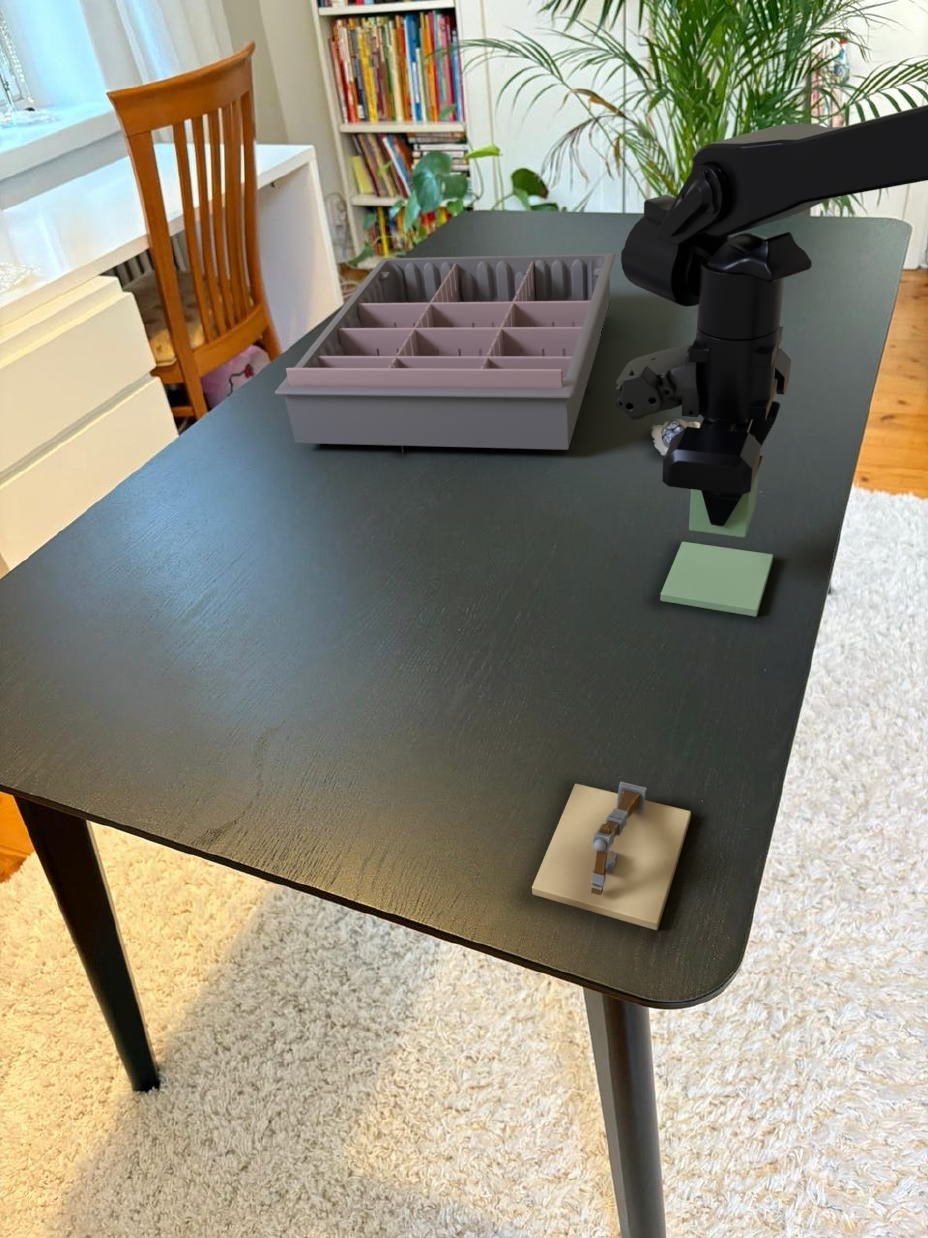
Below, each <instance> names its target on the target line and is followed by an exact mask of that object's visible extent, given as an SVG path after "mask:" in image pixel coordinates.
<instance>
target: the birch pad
mask: <svg viewBox="0 0 928 1238" xmlns="http://www.w3.org/2000/svg"><path fill="white" fill-rule="evenodd" d="M617 798H618V792H612V791H610V790H605V789H600V788H598V787H597V788H596V787H592V786H588V785H584V784H580V783H574V784H573V788H572V790H571V792H570V795H569V797H568V800H567V802H566V803H565V806H564V809H563V811H562V814H561V817H560V819H559V822H558V823H557V826H556V829H555V831H554V833H553V835H552V838H551V840H550V843H549V845H548V847H547V850H546V852H545V854H544V856H543V860H542V862H541V865H540V867H539V869H538V872H537V874H536V877H535V878H534V882H533V883H532V886H531V891H532V895H533V896H536V897H540V898H544V899H547V900H551V901H553V902H557V903H560V904H563V905H567V906H571V907H575V908H578V909H581V910H585V911H587V912H588V911H589V912H591V913H595V914H598V915H602V916H606V917H609V918H612V919H616V920H619V921H622V922H626V923H629V924H633V925H636V926H640V927H644V928H647V929H651V930H653V931H658V930H659V927H660V923H661V920H662V917H663V913H664V910H665V906H666V903H667V901H668V897H669V893H670V890H671V886H672V883H673V880H674V876H675V873H676V870H677V866H678V863H679V859H680V856H681V852H682V849H683V846H684V842H685V839H686V836H687V831H688V830H689V829H688V828H689V825H690V822H691V816H692V812H691V811H690V810H687V809H683V808H679V807H676V806H675V807H674V806H671V805H666V804H662V803H657V802H655V801H650V800H647V799H645V804H644V811H643V812H642V813H641V814H639V813H635V812H634V813H633V814H632V815H631V816H630V817H629V818H628V819H627V825H626V826H625V827H624V828H623V830H622V833H621V835H619V836H617V835H616V836H615V838H614V843H613V844H612V845H611V846H610V848H609V851H614V852H616V853H618V858H617V866H614V871H613V875H610V874H607V875H606V880H605V882H604V886H603V892H602V894H601V895H596V894H593V893H591V889H592V887H591V886H592V883H591V879H592V872H593V871H594V868H595V860H596V853H597V850H596V849H593V848H592V846H593V838H594V834H595V833H596V832H597V831H598V829H599V828H600V826H601V825H602V824H605V823H606V818H607V816H608V815H609V814H611V812H612V811H613V808H615V809H616V806H617Z"/></svg>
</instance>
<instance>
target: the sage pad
mask: <svg viewBox="0 0 928 1238" xmlns="http://www.w3.org/2000/svg"><path fill="white" fill-rule="evenodd" d="M773 560H774V554H773V553H766V552H759V551H751V550H745V549H737V548H731V547H723V546H718V545H717V546H716V545H709V544H702V543H696V542H688V541H682V542H681V544H680V545H679V548H678V550H677V553H676V555H675V558H674V561H673V563H672V565H671V568H670V570H669V572H668V574H667V578H666V580H665V582H664V584H663V587H662V589H661V591H660V597H659V598H660V601H661V602H665V603H672V604H677V605H683V606H690V607H695V608H702V609H706V610H707V609H708V610H713V611H719V612H724V613H731V614H737V615H743V616H750V617H758V614H759V610H760V606H761V603H762V600H763V596H764V593H765V590H766V586H767V583H768V579H769V576H770V572H771V569H772V565H773V562H774V561H773Z"/></svg>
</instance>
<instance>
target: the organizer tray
mask: <svg viewBox="0 0 928 1238" xmlns="http://www.w3.org/2000/svg"><path fill="white" fill-rule="evenodd" d="M615 259H616V254H615V253H614V252H611V253H610V252H609V253H606V252H605V253H567V254H566V253H565V254H564V253H563V254H560V253H559V254H522V255H521V254H520V255H476V256H475V255H474V256H435V257H434V256H433V257H430V256H429V257H428V256H427V257H391V258H390V257H389V258H388V257H387V258H381V259H380V260H379V262H378V263H377V264H376V265H375V266H374V267H373V269H372V270H371V271H370V273H368V275H367V277H365V279H363V281H362V283H360V285H359V286H358V287H357V289H356V290H355V292H353V294H352V295H351V296H350V297H349V299H348V300H347V301H346V302H345V303H344V304H343V306H342V307H341V309H340V310H339V311H338V312H337V313H336V315H335V316H334V317H333V319H332V320H330V322H329V324H327V326H326V327H325V329H323V331H322V332H321V334H320V335H319V336H318V337H317V339H316V340H315V341H314V342H313V344H312V345H311V346H310V348H308V350H307V351H306V352H305V354H304V355H303V356H302V357H301V359H300V360H299V361H298V362H297V364H296V365H295V366H294V367H286V368H285V370H286V377H285V379H284V380H283V381H282V382H281V383H280V385H279V386H278V388H277V389H275V391H274V394H275V395H283V398H284V401H285V405H286V409H287V410H286V411H287V414H288V418H289V422H290V423H289V424H290V427H291V431H292V434H293V439H294V443H295V444H323V445H324V444H326V445H327V444H328V445H362V446H363V445H365V446H366V445H367V446H370V445H371V446H401V451H402V452H404V448H403V447H404V446H405V447H406V446H407V447H408V446H411V447H442V448H443V447H444V448H446V447H447V448H451V447H452V448H485V449H487V448H490V449H525V450H526V449H527V450H528V449H529V450H564V451H565V450H567V451H569V448H570V445H571V441H572V438H573V435H574V432H575V429H576V424H577V420H578V418H579V414H580V410H581V407H582V402H583V399H584V397H585V392H586V389H587V385H588V383H589V379H590V375H591V372H592V368H593V365H594V362H595V358H596V356H597V351H598V348H599V345H600V341H601V337H602V334H601V331H602V332H603V330H602V328H603V329H604V327H603V324H604V325H605V323H604V321H605V322H606V320H605V317H606V318H607V316H606V313H607V309H608V305H609V301H610V302H611V291H610V290H611V277H610V276H611V273H612V270H613V267H614V266H613V265H614V263H615ZM607 314H608V313H607ZM600 336H601V337H600ZM599 340H600V341H599Z"/></svg>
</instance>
